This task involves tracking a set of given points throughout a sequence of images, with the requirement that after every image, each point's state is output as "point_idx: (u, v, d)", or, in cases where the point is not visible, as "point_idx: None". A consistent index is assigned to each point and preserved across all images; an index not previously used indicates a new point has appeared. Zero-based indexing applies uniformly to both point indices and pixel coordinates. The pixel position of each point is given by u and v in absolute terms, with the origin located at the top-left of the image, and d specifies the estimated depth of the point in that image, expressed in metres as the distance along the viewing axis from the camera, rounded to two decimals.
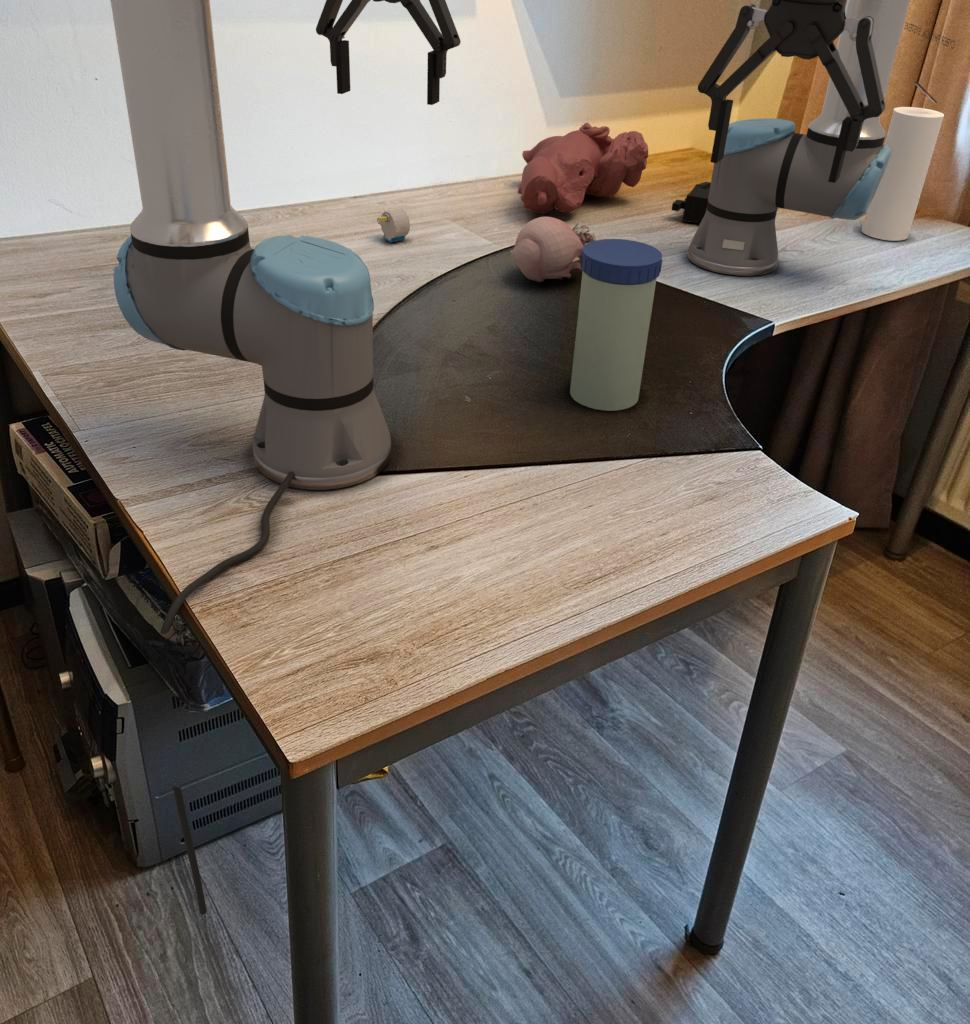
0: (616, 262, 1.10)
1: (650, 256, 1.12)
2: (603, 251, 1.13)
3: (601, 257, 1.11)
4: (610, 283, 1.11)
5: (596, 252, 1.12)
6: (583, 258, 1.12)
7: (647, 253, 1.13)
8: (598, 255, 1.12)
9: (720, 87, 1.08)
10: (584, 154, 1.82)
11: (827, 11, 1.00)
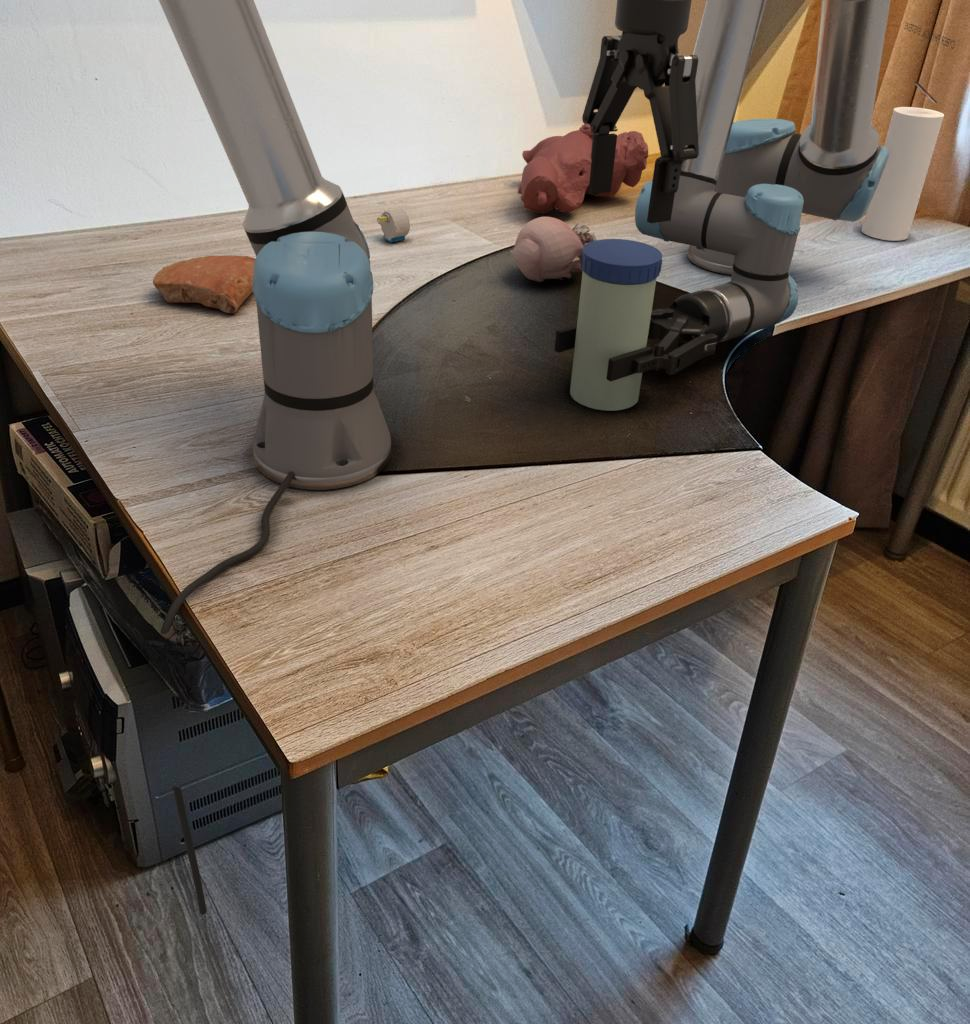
0: (616, 262, 1.10)
1: (650, 256, 1.12)
2: (603, 251, 1.13)
3: (601, 257, 1.11)
4: (610, 283, 1.11)
5: (596, 252, 1.12)
6: (583, 258, 1.12)
7: (647, 253, 1.13)
8: (598, 255, 1.12)
9: None
10: (584, 154, 1.82)
11: None
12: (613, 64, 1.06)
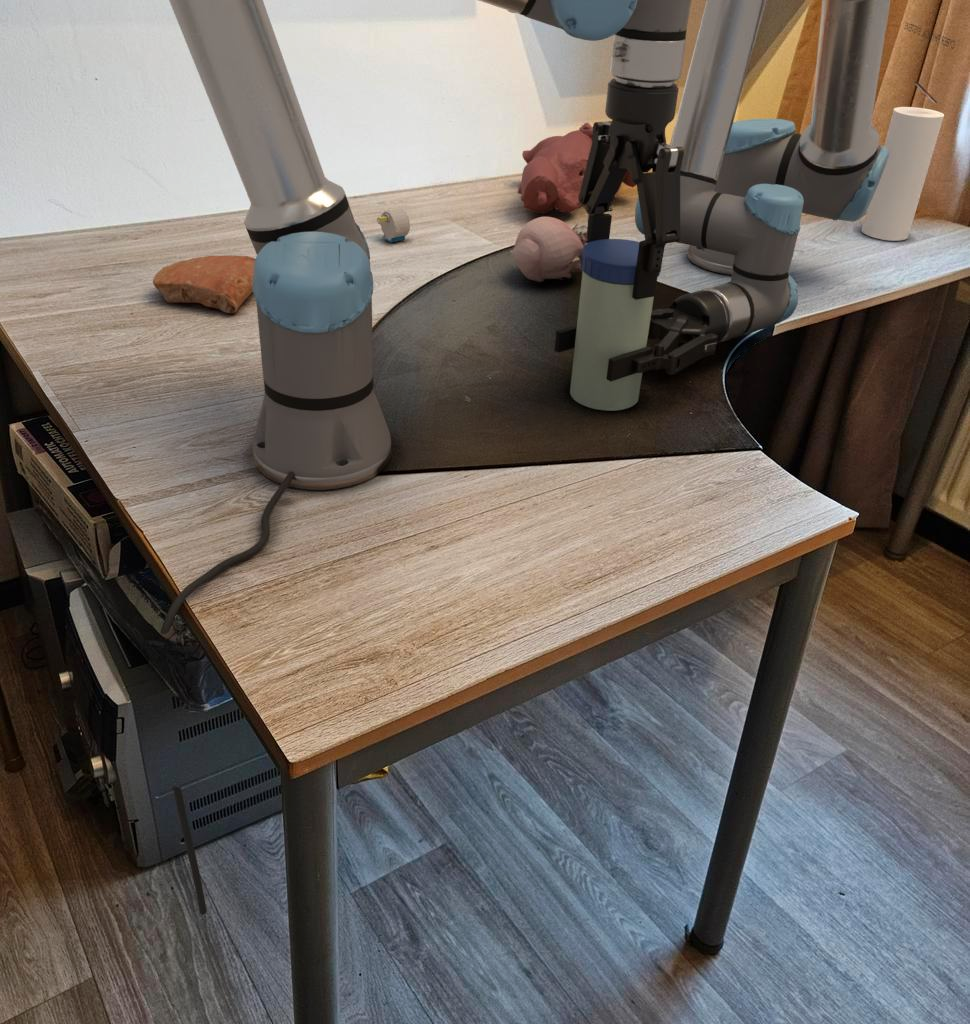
0: (616, 262, 1.10)
1: None
2: (603, 251, 1.13)
3: (601, 257, 1.11)
4: (610, 283, 1.11)
5: (596, 252, 1.12)
6: (583, 258, 1.12)
7: None
8: (598, 255, 1.12)
9: None
10: (584, 154, 1.82)
11: None
12: (605, 148, 1.11)
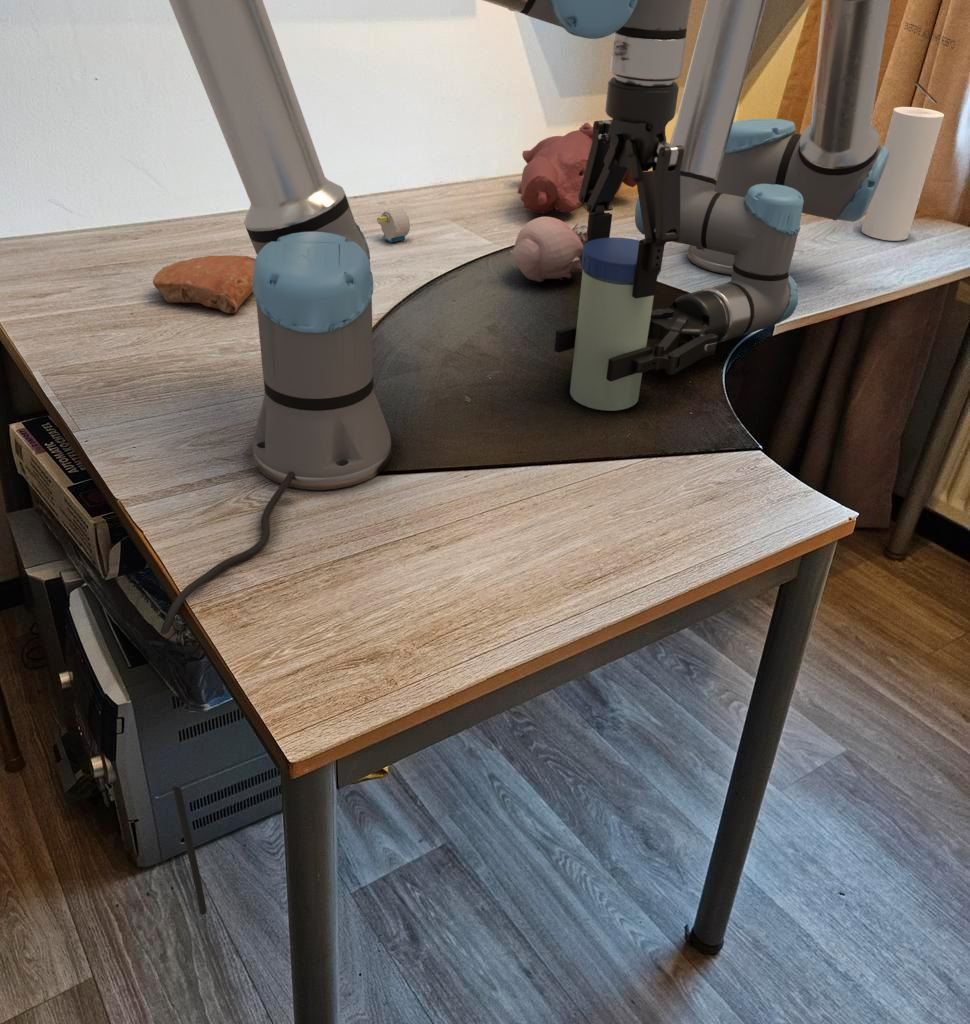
0: None
1: (610, 241, 1.15)
2: None
3: None
4: (610, 283, 1.11)
5: None
6: None
7: (605, 243, 1.15)
8: None
9: None
10: (584, 154, 1.82)
11: None
12: (605, 146, 1.11)
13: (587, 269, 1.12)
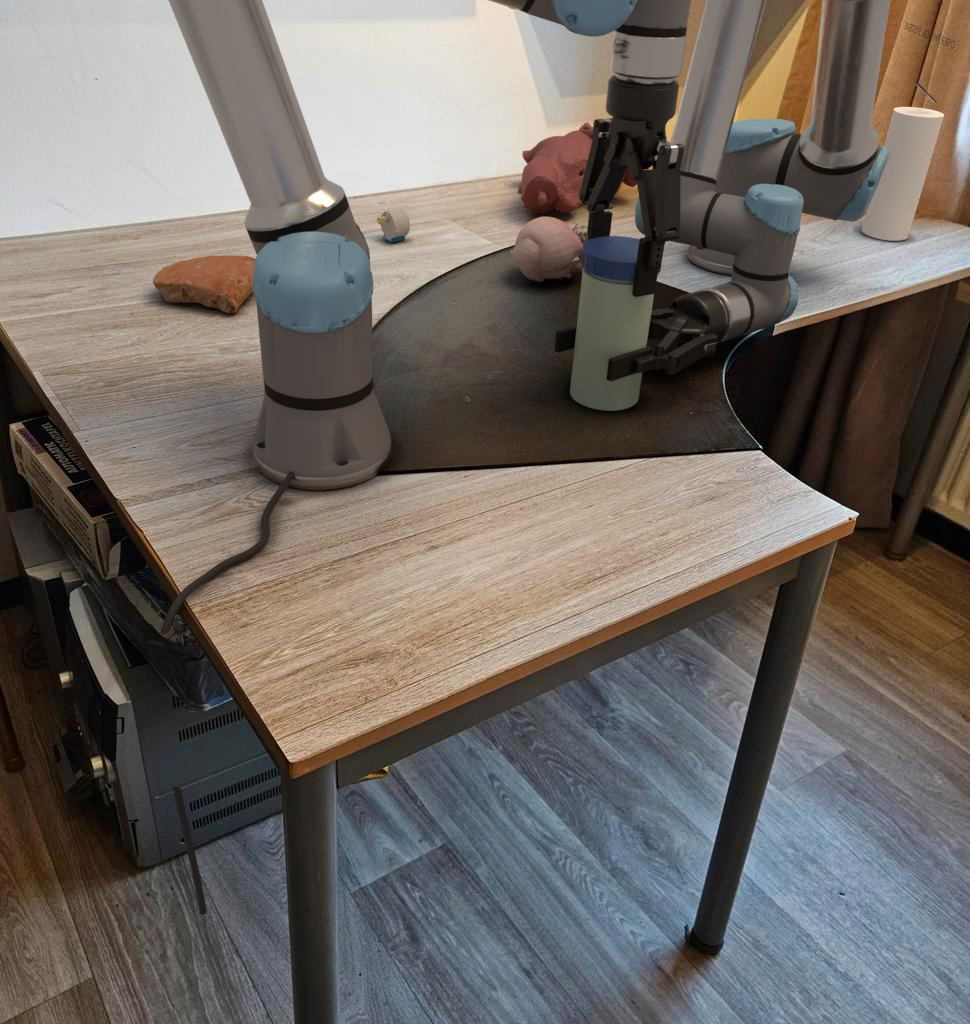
0: (591, 242, 1.14)
1: (610, 256, 1.10)
2: (622, 242, 1.15)
3: (605, 239, 1.15)
4: (610, 283, 1.11)
5: (618, 240, 1.15)
6: None
7: (619, 257, 1.10)
8: (611, 239, 1.15)
9: None
10: (584, 154, 1.82)
11: None
12: (605, 145, 1.11)
13: (659, 270, 1.12)
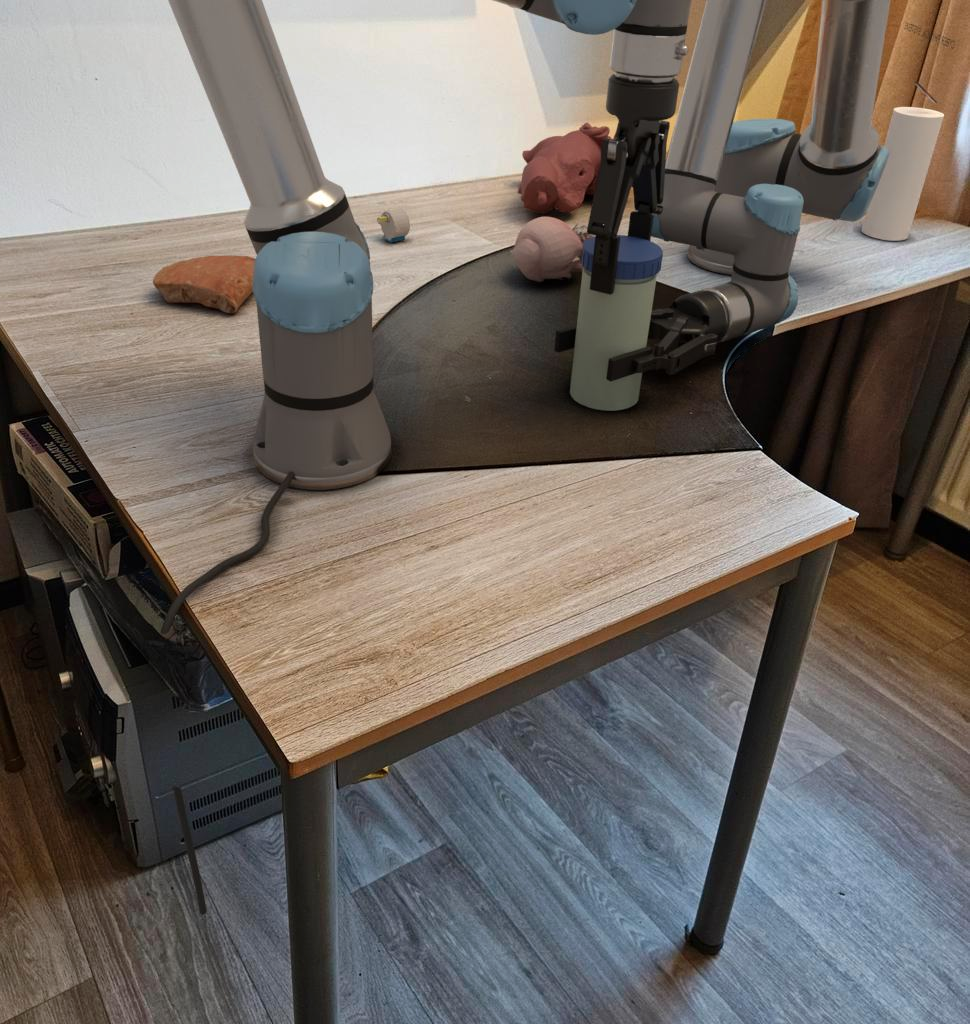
0: (629, 259, 1.09)
1: (651, 248, 1.13)
2: None
3: None
4: None
5: None
6: (590, 259, 1.11)
7: (645, 246, 1.13)
8: None
9: None
10: (584, 154, 1.82)
11: None
12: None
13: None
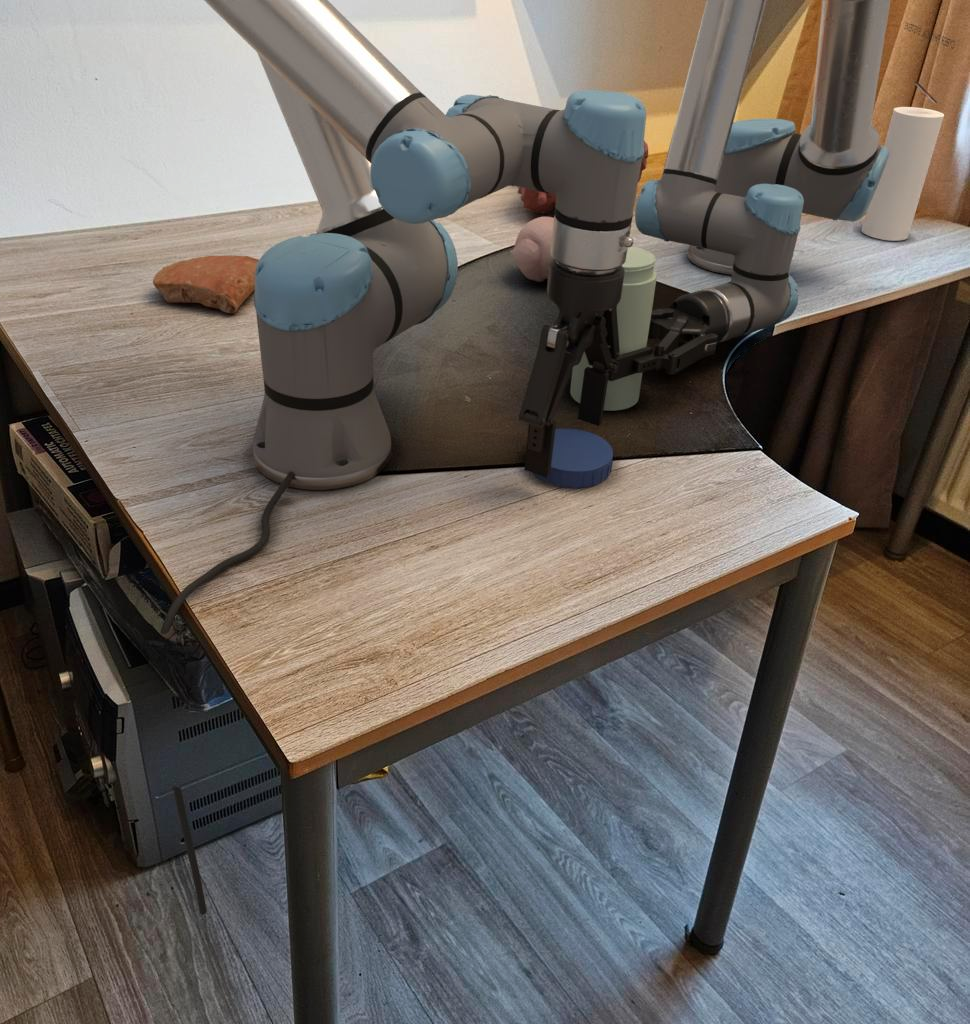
0: (577, 467, 1.04)
1: (601, 449, 1.07)
2: (553, 452, 1.06)
3: (558, 462, 1.05)
4: None
5: None
6: None
7: (595, 445, 1.08)
8: (553, 460, 1.05)
9: None
10: None
11: None
12: None
13: None
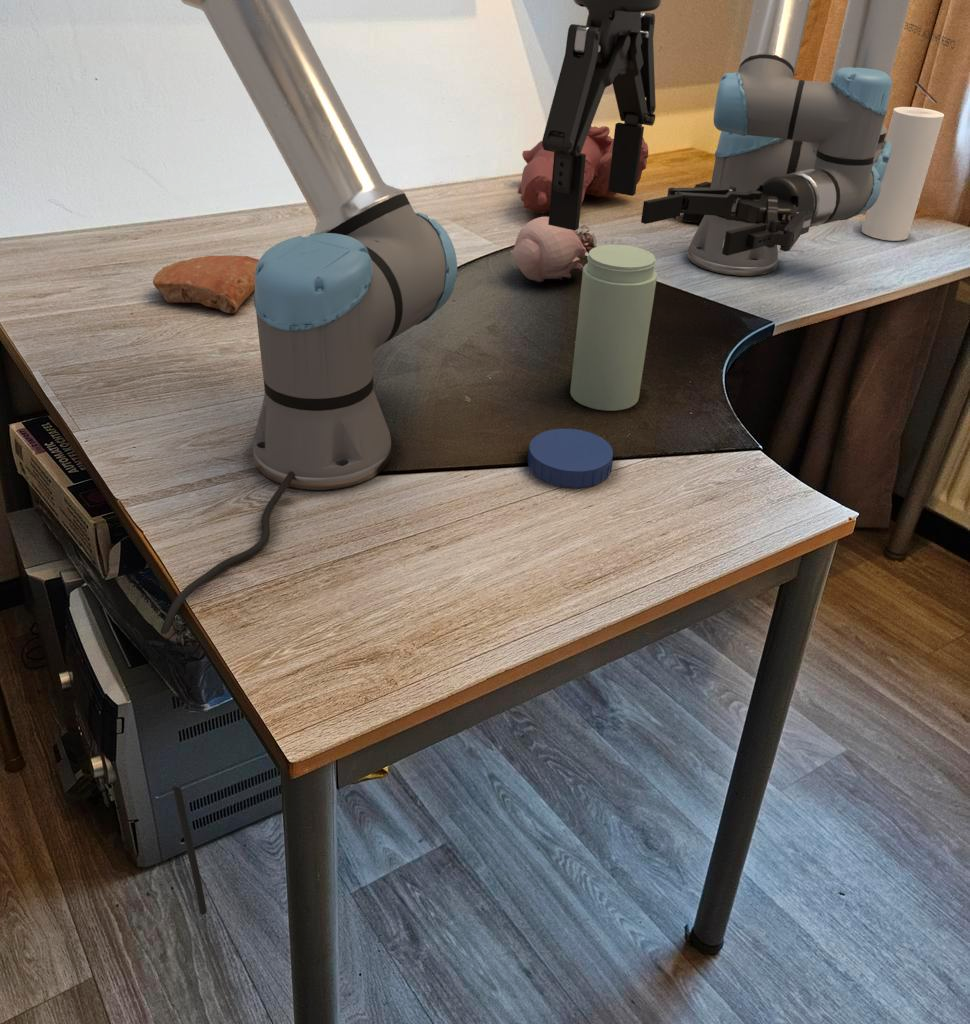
0: (577, 467, 1.04)
1: (601, 449, 1.07)
2: (553, 452, 1.06)
3: (558, 462, 1.05)
4: (610, 283, 1.11)
5: (548, 456, 1.06)
6: (536, 465, 1.05)
7: (595, 445, 1.08)
8: (553, 460, 1.05)
9: None
10: None
11: None
12: None
13: None
